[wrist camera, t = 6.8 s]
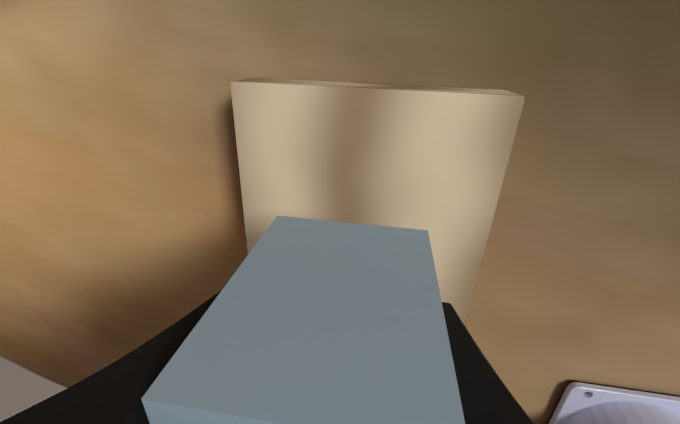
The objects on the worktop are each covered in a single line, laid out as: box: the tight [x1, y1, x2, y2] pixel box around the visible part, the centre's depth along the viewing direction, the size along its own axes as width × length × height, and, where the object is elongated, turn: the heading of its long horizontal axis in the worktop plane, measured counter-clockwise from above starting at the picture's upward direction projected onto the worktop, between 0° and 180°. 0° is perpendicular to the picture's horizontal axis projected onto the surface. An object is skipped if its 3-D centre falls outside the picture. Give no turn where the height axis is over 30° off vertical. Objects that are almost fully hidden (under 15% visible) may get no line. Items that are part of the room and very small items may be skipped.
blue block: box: [141, 215, 465, 424], centre depth 8 cm, size 4×4×6 cm
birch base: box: [230, 78, 525, 326], centre depth 16 cm, size 11×11×2 cm
